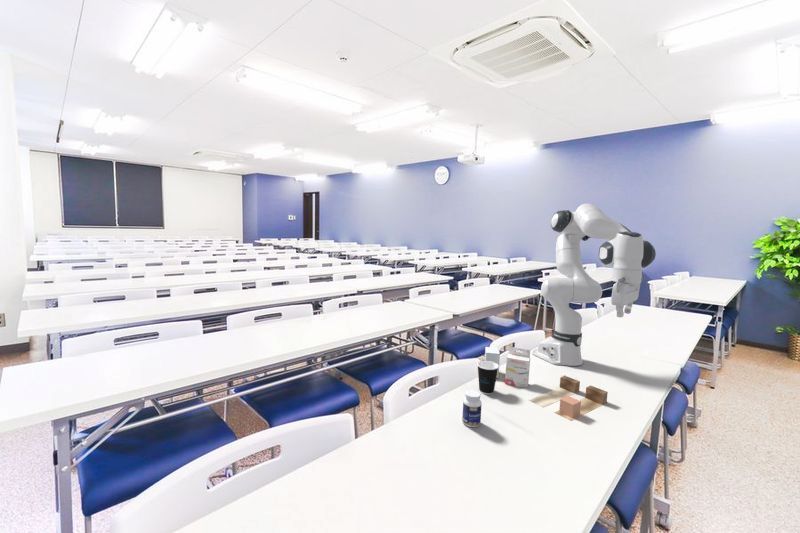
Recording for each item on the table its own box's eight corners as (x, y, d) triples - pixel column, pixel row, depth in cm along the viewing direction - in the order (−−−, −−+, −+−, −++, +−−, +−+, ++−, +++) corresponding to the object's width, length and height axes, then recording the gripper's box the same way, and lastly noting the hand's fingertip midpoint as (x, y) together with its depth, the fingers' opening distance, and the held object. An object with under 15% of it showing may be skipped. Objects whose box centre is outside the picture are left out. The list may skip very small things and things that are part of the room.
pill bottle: (469, 429, 111) (471, 399, 110) (458, 420, 116) (459, 391, 115) (484, 425, 114) (485, 395, 113) (472, 416, 119) (474, 387, 118)
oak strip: (553, 414, 120) (554, 401, 119) (589, 397, 132) (590, 385, 131) (571, 423, 115) (572, 408, 114) (606, 404, 127) (607, 391, 127)
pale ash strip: (528, 402, 128) (529, 389, 127) (564, 387, 140) (564, 375, 140) (543, 409, 123) (544, 396, 122) (578, 393, 135) (579, 381, 135)
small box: (498, 378, 149) (500, 353, 148) (484, 377, 150) (486, 352, 149) (497, 370, 157) (498, 347, 156) (484, 369, 158) (485, 346, 157)
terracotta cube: (559, 412, 120) (560, 399, 120) (567, 408, 123) (568, 395, 122) (572, 418, 116) (573, 404, 116) (579, 414, 119) (580, 401, 118)
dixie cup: (493, 388, 140) (495, 360, 139) (500, 397, 132) (501, 369, 131) (473, 388, 140) (474, 360, 139) (478, 397, 132) (480, 368, 131)
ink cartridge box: (504, 385, 142) (506, 349, 141) (506, 380, 147) (508, 345, 145) (527, 390, 139) (529, 353, 137) (528, 385, 143) (530, 349, 142)
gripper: (628, 280, 120) (625, 321, 121) (644, 276, 134) (641, 312, 135) (607, 278, 124) (604, 317, 126) (624, 274, 139) (622, 310, 140)
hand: (623, 315), depth 131 cm, fingers open, 8 cm apart
